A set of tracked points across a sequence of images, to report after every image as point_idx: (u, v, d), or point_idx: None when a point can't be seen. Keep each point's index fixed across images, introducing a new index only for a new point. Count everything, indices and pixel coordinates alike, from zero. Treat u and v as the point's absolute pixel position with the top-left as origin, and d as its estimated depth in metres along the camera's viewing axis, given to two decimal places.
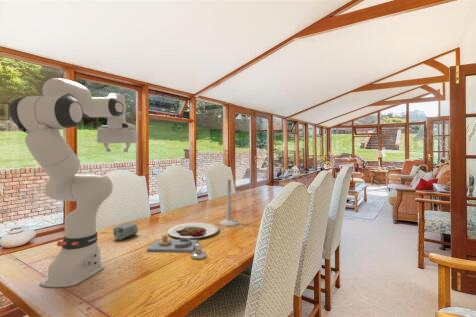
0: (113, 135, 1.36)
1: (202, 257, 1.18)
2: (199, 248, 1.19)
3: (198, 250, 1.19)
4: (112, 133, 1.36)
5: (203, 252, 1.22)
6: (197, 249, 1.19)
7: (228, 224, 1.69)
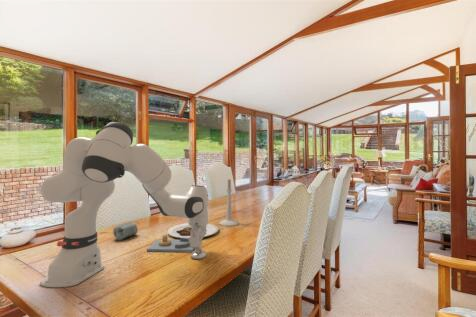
0: (201, 232, 1.19)
1: (202, 257, 1.18)
2: None
3: None
4: (201, 230, 1.18)
5: (203, 251, 1.22)
6: None
7: (228, 224, 1.69)
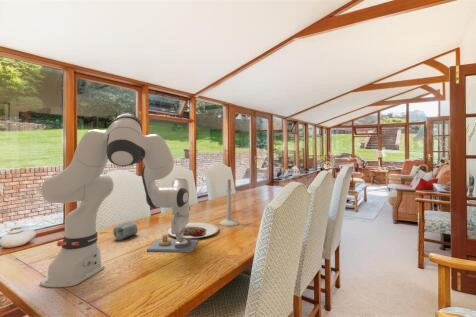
0: (182, 221, 1.31)
1: None
2: (181, 236, 1.31)
3: None
4: (182, 219, 1.31)
5: (184, 240, 1.34)
6: None
7: (228, 224, 1.69)
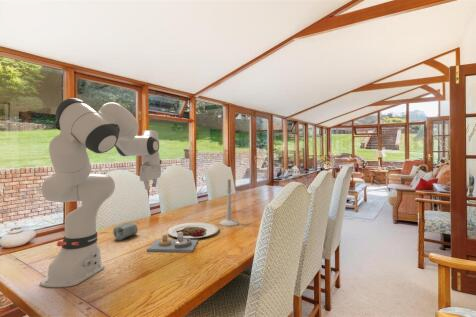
0: (152, 171, 1.35)
1: None
2: (181, 236, 1.31)
3: (180, 238, 1.31)
4: (152, 170, 1.35)
5: (184, 239, 1.34)
6: (179, 237, 1.31)
7: (228, 224, 1.69)
